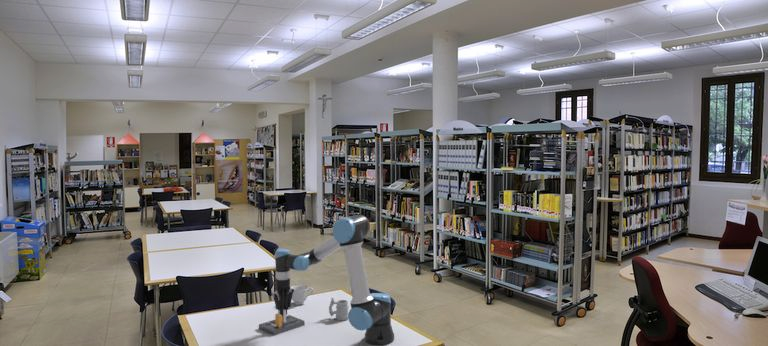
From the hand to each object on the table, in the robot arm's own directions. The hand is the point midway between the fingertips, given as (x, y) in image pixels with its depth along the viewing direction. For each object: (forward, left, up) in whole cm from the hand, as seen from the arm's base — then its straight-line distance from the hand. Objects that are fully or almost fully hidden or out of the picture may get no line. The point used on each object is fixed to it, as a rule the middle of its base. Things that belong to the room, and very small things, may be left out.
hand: (283, 321), depth 254 cm
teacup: (+28, -33, -5) cm, 44 cm away
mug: (-10, -31, -5) cm, 33 cm away
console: (+3, -1, -4) cm, 6 cm away
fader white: (+7, -3, -2) cm, 8 cm away
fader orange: (0, +3, -2) cm, 4 cm away
